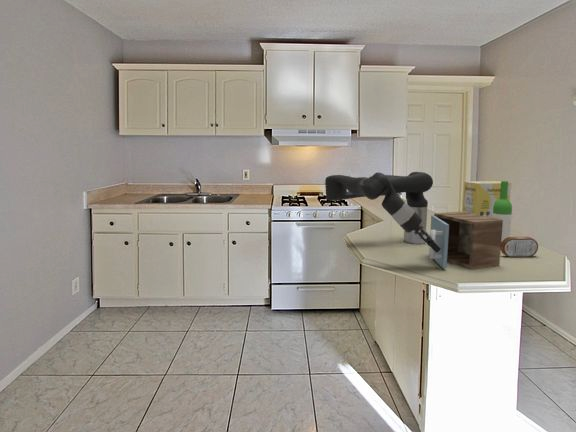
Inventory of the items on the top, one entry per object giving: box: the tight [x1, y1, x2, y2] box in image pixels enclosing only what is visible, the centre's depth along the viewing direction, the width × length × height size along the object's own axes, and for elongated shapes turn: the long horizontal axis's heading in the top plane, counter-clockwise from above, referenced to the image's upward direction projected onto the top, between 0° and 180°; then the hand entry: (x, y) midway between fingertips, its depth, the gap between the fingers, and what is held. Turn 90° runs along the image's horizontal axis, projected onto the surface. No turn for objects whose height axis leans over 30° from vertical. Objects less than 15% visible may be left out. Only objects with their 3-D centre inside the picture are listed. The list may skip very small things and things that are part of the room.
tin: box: [500, 236, 539, 258], centre depth 189 cm, size 15×3×8 cm, turn 92°
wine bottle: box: [492, 180, 513, 243], centre depth 205 cm, size 8×8×30 cm
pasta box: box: [461, 180, 512, 218], centre depth 222 cm, size 18×10×28 cm, turn 103°
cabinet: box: [433, 211, 503, 270], centre depth 181 cm, size 22×14×18 cm, turn 23°
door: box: [428, 215, 449, 269], centre depth 178 cm, size 21×6×16 cm, turn 176°
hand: (437, 250), depth 171 cm, fingers closed on door, 2 cm apart
